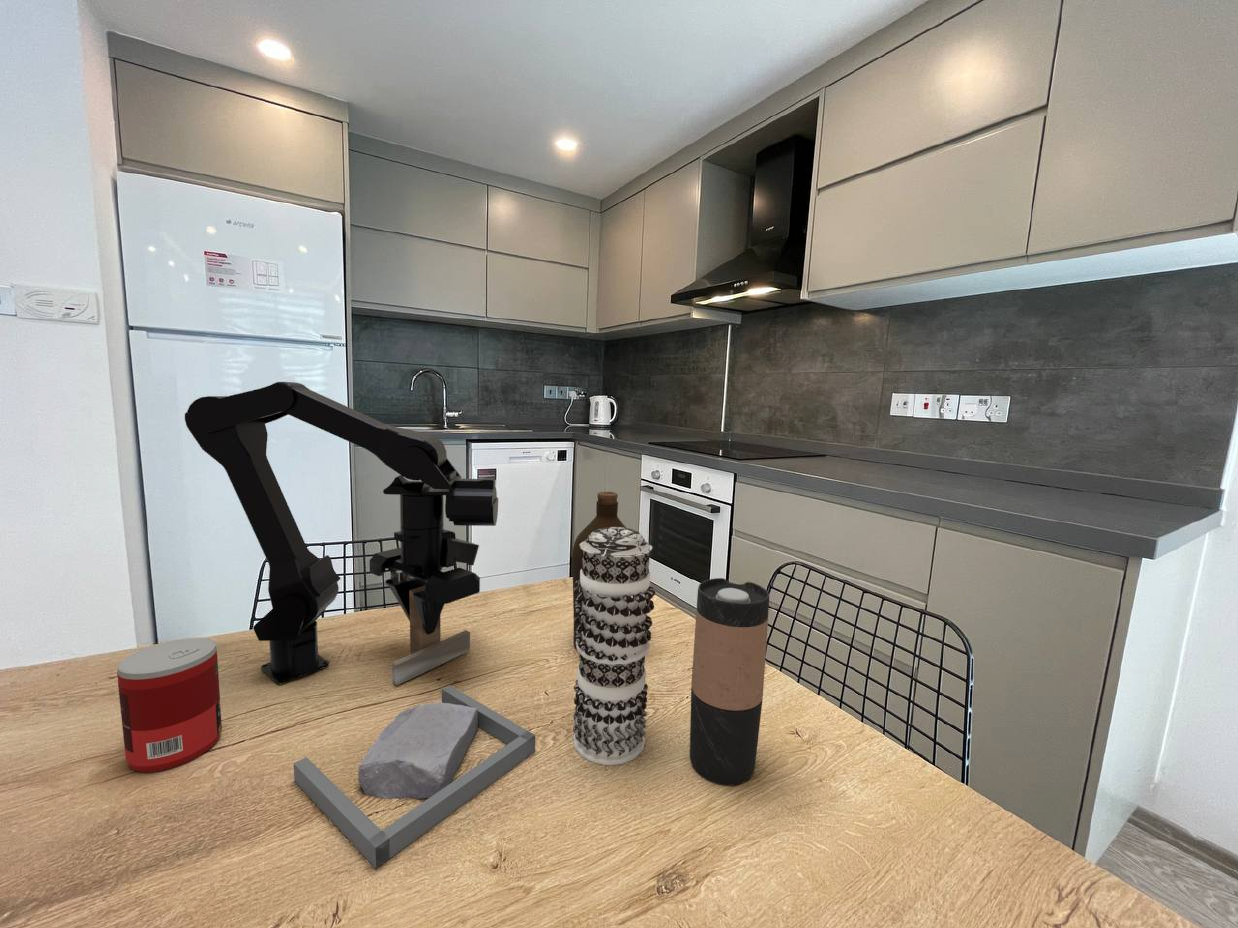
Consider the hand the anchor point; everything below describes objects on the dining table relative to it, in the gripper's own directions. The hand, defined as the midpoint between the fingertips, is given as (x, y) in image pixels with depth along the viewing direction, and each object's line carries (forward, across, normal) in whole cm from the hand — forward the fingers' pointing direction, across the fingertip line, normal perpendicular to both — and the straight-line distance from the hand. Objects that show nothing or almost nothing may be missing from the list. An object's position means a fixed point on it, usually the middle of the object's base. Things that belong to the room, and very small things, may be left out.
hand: (423, 629), depth 74 cm
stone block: (+6, -17, +11) cm, 21 cm away
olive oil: (+6, -16, -22) cm, 28 cm away
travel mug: (+6, -43, -9) cm, 44 cm away
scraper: (+5, 0, 0) cm, 5 cm away
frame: (+6, -17, +12) cm, 22 cm away
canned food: (+6, +5, +27) cm, 28 cm away
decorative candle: (+6, -31, -4) cm, 32 cm away
